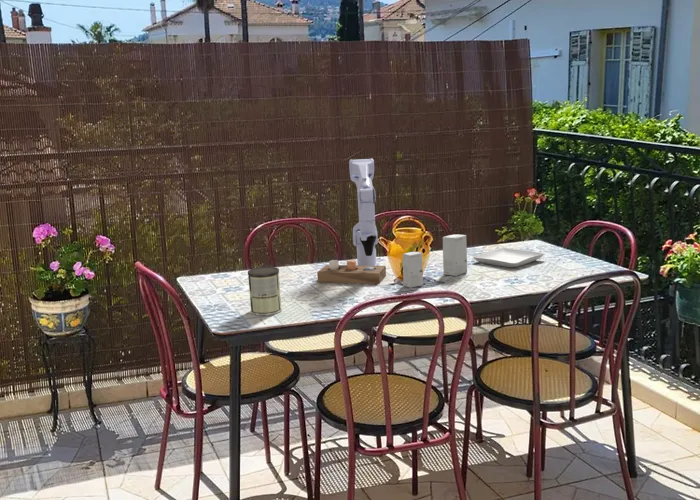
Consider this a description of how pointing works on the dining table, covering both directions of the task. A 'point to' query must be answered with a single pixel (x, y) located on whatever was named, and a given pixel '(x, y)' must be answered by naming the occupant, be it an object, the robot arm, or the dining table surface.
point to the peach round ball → (351, 265)
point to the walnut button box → (352, 275)
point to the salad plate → (508, 257)
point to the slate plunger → (369, 268)
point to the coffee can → (264, 290)
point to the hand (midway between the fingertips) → (368, 255)
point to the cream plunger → (334, 265)
